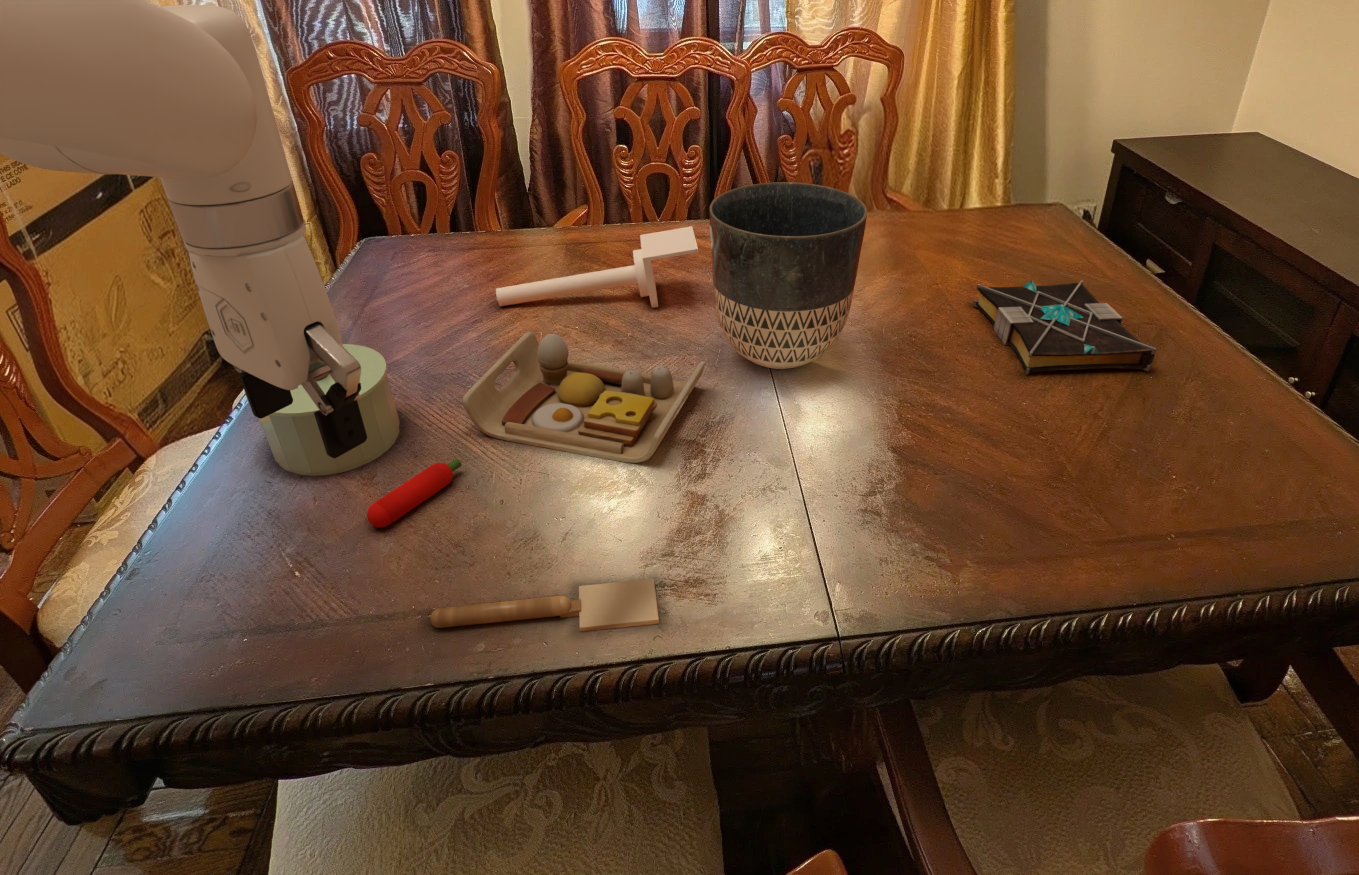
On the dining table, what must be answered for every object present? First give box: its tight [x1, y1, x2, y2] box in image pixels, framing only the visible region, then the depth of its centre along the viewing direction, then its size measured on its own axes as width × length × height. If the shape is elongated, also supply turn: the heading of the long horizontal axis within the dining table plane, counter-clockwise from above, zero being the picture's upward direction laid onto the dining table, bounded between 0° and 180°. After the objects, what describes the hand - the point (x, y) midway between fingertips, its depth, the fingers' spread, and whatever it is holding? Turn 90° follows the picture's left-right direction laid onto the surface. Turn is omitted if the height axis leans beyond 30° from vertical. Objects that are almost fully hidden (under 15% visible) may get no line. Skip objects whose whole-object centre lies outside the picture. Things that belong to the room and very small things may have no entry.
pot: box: [258, 373, 401, 477], centre depth 96 cm, size 15×15×8 cm
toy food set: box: [461, 331, 707, 464], centre depth 100 cm, size 25×18×8 cm
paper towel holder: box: [495, 225, 699, 309], centre depth 126 cm, size 9×9×32 cm
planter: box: [708, 181, 868, 370], centre depth 106 cm, size 20×20×21 cm
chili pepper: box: [366, 458, 462, 529], centre depth 87 cm, size 12×3×3 cm
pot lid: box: [245, 343, 388, 417], centre depth 92 cm, size 15×15×5 cm
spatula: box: [429, 578, 660, 633], centre depth 74 cm, size 21×5×2 cm, turn 97°
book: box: [972, 279, 1157, 376], centre depth 114 cm, size 22×17×5 cm
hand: (310, 428), depth 63 cm, fingers open, 9 cm apart
